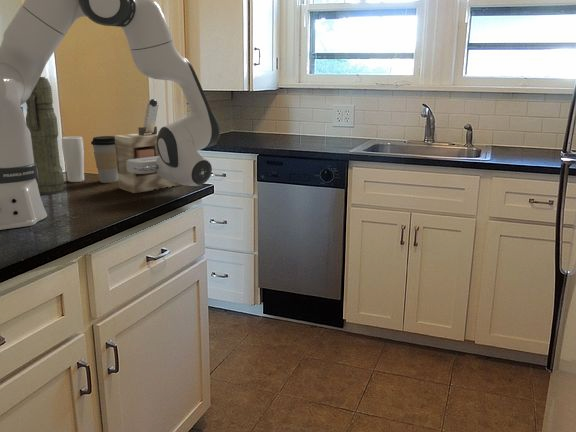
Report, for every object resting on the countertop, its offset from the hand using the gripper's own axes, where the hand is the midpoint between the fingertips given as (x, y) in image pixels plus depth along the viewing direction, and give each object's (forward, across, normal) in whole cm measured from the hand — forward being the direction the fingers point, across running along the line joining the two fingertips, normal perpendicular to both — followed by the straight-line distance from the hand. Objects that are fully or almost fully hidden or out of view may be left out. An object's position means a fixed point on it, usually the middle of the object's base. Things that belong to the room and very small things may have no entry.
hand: (147, 160), depth 175 cm
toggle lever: (+6, +4, +8) cm, 11 cm away
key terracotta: (+4, 0, -4) cm, 5 cm away
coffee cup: (+24, -2, -10) cm, 26 cm away
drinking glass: (+32, -10, -10) cm, 35 cm away
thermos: (+22, -23, -10) cm, 33 cm away
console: (+6, +4, -10) cm, 12 cm away
